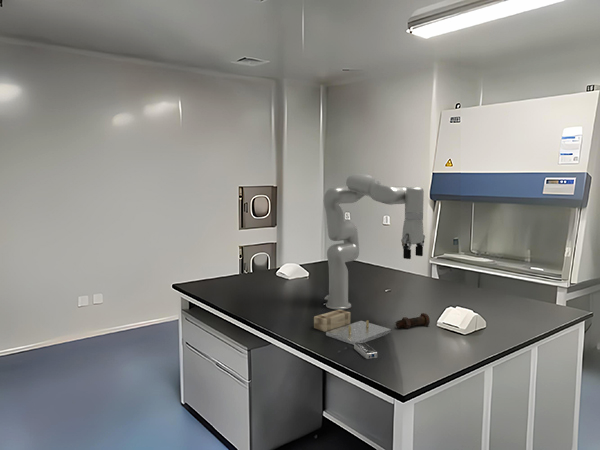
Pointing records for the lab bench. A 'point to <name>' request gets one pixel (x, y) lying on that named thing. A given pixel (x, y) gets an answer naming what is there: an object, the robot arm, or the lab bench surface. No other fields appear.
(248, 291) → the lab bench surface
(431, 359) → the lab bench surface
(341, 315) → the tan rectangular block
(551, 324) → the lab bench surface
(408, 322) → the bolt
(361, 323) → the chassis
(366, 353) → the multiport hub
